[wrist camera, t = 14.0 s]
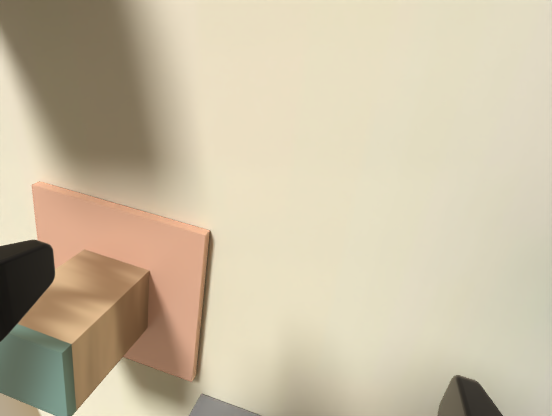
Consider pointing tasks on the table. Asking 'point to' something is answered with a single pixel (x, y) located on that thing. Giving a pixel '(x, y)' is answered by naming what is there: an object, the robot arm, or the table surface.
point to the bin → (217, 408)
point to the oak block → (75, 333)
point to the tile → (142, 253)
